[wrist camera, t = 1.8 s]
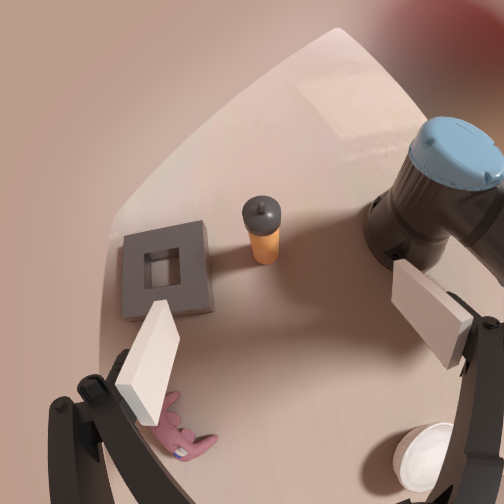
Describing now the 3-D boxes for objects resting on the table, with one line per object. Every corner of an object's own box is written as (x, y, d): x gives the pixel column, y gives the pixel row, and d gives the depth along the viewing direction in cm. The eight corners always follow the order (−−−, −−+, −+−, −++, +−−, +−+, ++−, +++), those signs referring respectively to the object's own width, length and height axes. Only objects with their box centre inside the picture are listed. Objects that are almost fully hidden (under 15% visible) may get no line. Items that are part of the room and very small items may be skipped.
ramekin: (430, 405, 32) (447, 406, 27) (455, 448, 28) (472, 453, 23) (373, 452, 30) (385, 461, 26) (403, 494, 26) (416, 505, 21)
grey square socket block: (206, 229, 47) (202, 220, 45) (214, 311, 42) (209, 306, 39) (131, 243, 48) (124, 236, 45) (130, 321, 42) (121, 317, 39)
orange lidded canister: (277, 237, 46) (276, 184, 33) (283, 263, 44) (284, 217, 31) (249, 242, 46) (238, 191, 33) (253, 268, 44) (243, 224, 31)
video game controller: (164, 401, 38) (132, 416, 31) (178, 386, 37) (145, 401, 30) (206, 449, 34) (178, 471, 28) (223, 437, 33) (195, 461, 27)
